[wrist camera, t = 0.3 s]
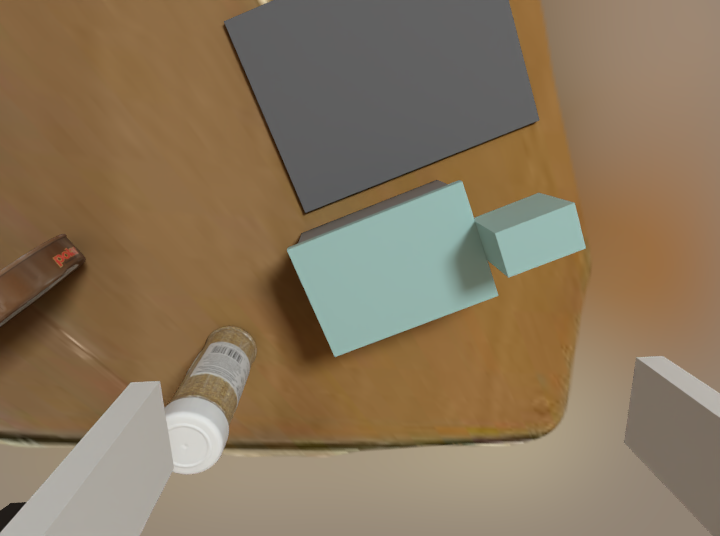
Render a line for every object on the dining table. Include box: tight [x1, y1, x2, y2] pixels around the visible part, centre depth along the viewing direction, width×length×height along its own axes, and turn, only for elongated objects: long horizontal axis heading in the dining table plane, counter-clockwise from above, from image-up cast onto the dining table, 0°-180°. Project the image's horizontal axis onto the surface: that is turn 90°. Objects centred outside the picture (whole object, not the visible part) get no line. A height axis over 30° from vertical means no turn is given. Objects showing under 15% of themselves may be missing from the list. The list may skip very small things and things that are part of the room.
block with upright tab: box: [287, 180, 586, 357], centre depth 31 cm, size 9×18×6 cm, turn 111°
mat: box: [224, 0, 539, 213], centre depth 35 cm, size 15×20×1 cm
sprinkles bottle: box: [164, 326, 257, 474], centre depth 34 cm, size 5×5×13 cm
